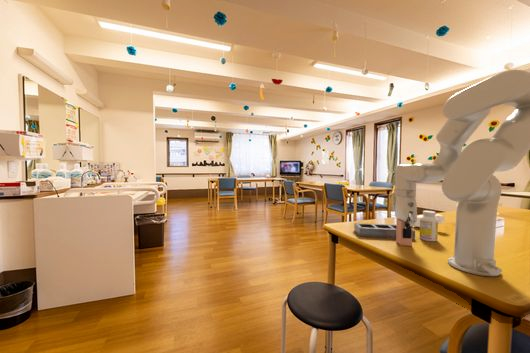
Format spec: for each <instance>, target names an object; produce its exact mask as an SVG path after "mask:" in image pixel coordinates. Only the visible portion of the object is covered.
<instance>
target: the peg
mask: <svg viewBox="0 0 530 353" xmlns="http://www.w3.org/2000/svg"><path fill="white" fill-rule="evenodd" d="M407 221H409V220H407ZM396 225H397V226H396V238H395V243H398V244H399V245H400V246H408V247H409V246H411V247H412V246H413V239H412V237H411V238H403V228H404V222H403V221H402V220H400V219H397V218H396ZM406 225H407V223H406ZM413 227H414V226H412V229H413V230H414V228H413Z"/></svg>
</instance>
